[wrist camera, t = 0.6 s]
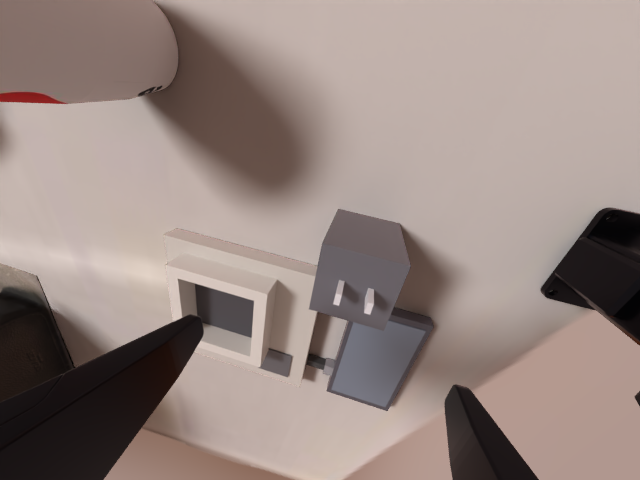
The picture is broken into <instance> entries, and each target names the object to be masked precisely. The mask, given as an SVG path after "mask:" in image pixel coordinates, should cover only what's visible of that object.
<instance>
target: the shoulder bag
mask: <svg viewBox="0 0 640 480" xmlns="http://www.w3.org/2000/svg"><path fill="white" fill-rule="evenodd" d="M72 369H74V368H73V365H72V363H71V360H70V358H69V355H68V352H67V350H66V347H65V345H64V342H63V340H62V339H61V335H60V333H59V330H58V328H57V325H56V323H55V321H54V318H53V316H52V313H51V310H50V308H49V306H48V303H47V301H46V298H45V295H44V293H43V290H42V288H41V286H40V282H39V281H38V280H37V277H36V276H35V275H33V274H30V273H27V272H24V271H21V270H18V269H16V268H12V267H9V266H7V265H4V264H1V263H0V402H2V401H4V400H6V399H9V398H11V397H13V396H16V395H18V394H20V393H22V392H24V391H27V390H29V389H31V388H33V387H35V386H38V385H40V384H42V383H44V382H46V381H48V380H51V379H53V378H55V377H57V376H59V375H61V374H63V375H64V374H65V373H66V372H68V371H70V370H72Z"/></svg>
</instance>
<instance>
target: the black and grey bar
mask: <svg viewBox="0 0 640 480" xmlns="http://www.w3.org/2000/svg"><path fill="white" fill-rule="evenodd" d="M334 364H335V360H332V359H329V358H326V359H323V358H320V357H317V356H313V355H310V354H309V357H308V360H307V364H306V365H310V366H313V367H316V368H319V369H322V370H323V374H327V375H330V376H332V372H333V369H334Z"/></svg>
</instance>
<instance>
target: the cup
mask: <svg viewBox="0 0 640 480" xmlns="http://www.w3.org/2000/svg"><path fill="white" fill-rule="evenodd" d="M177 68H178V46H177V41H176V37H175V34H174V31H173V29H172V27H171V25H170V23H169V21H168V19H167V17H166V16H165V14H164V13H163V12H162V11H161V9H160V8H159V7H158V6H157V5H156V4H155V3H154V2H153V0H0V102H25V103H54V104H71V103H85V102H98V101H112V100H125V99H132V98H135V97H139V96H143V95H146V94H150V93H153V92H157V91H160V90H163V89H165V88H166V87H168V86H169V85H170V84H171V82H172V81H173V79H174V77H175V75H176V72H177Z"/></svg>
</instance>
